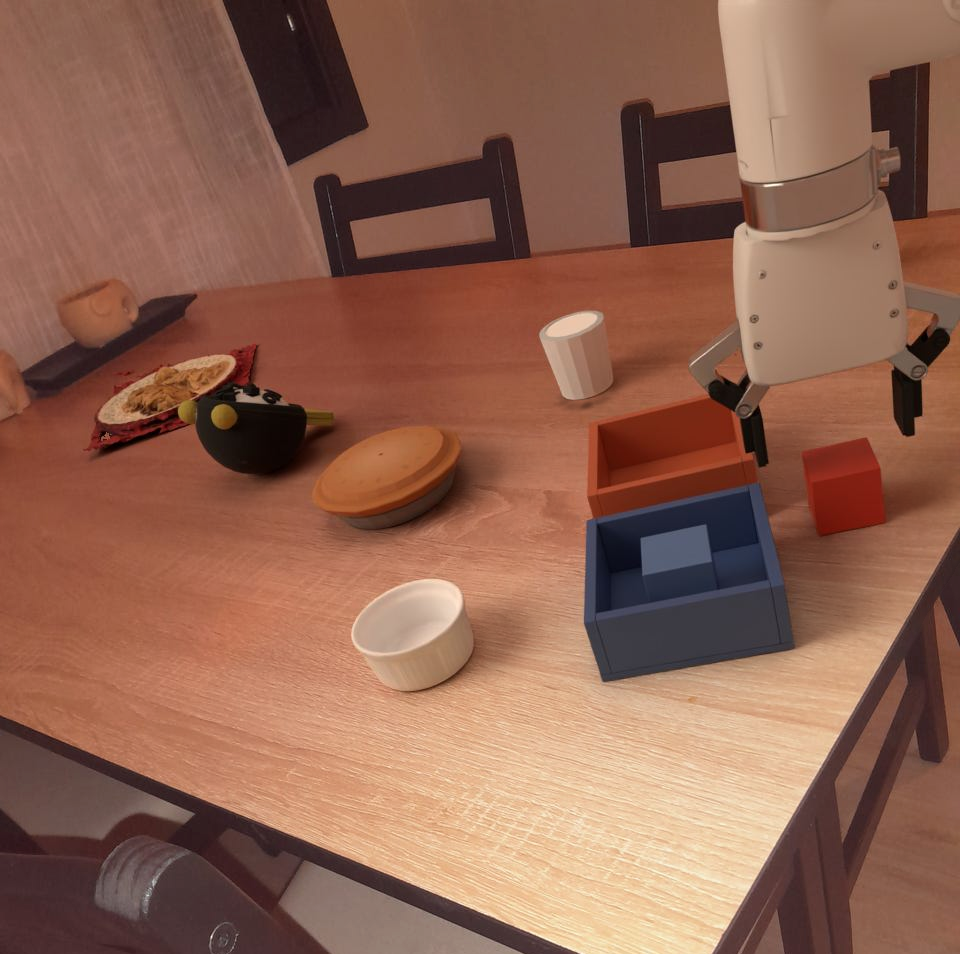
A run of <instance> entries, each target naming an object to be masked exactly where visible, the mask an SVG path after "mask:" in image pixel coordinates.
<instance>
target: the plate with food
mask: <svg viewBox="0 0 960 954" xmlns="http://www.w3.org/2000/svg"><path fill="white" fill-rule="evenodd" d="M256 349H257V342H255V343H252V344H251V345H246V346H245V347H243V346H242V348H239V349H235V348H234V349H232V350H229V353H214V354H207V355H201V356H199V357H193V358H190V359H187V360H183V361H182V362H181V361H179V362H178V363H175V364H170V363H167V365H165V366H164V364H161V363H160V364H159V365H158V366H159V367H155V368H154V369H152V370H150V371H148V372H143V374H142V375H136V376H135V379H137V378H140V379H138V380H136V381H133V380H129V381H125V383H124V382H122V384H121V386H116V384H114V385H113V391H112V392H113V395H112V396H110V397H108V399H107V400H106V401H105V402H104V403H103V404H102V405H101V406H100V407H99V408H98V409H97V410H96V413H94V418H93V421H94V423H95V426H94V428H93V430H92V433H91V435H90V436H91V437H90V440H91V441H90V443H89V445H88V446H87V448H83V449H82V450H83V451H85V452H86V451H88V452H91V451H92V450H93V449H94V450H98V449H99V450H104V449H107V448H108V447H110V446H112V445H113V444H115V443H119V442H121V443H126V442H128V441H131V440H133V439H134V438H136V437H140V436H144V435H147V434H148V433H152V432H154V431H156V430H157V429H158V430H159V429H161V430H159V432H158V433H159V434H162V433H165V432H167V431H172V430H175V429H178V428H180V427H184V426H187V425H189V424H188V423H185V422H183V421H182V420H181V419H180V417H179V415H178V408H179V406H180V405H181V403H182V402H184V401H186V400H192V401H195V402H199V401H200V399H201V397H202V396H213V393H214V392H216V391H218V390H221V389H222V386H223V385H227V384H228V382H233V383H237V384H239V385H243V386H247V384H249V383H250V382H249V378H250V375H251V373H250V370H251V369H252V365H253V363H254V362H253V361H254V360H253V359H254V357H255V351H256ZM134 373H135V371H134V369H130V370H124V371H118V372H115V373H114V376H124V377H125V376H129V375H132V374H134ZM127 379H128V377H126V378H125V380H127ZM131 379H133V376H131ZM106 432H107V433H109V436H110V439H108V440H107V439H103V441H101V437H102V436H104V435H105V434H106ZM110 434H111V435H110ZM104 437H105V436H104Z"/></svg>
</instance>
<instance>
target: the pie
mask: <svg viewBox="0 0 960 954" xmlns="http://www.w3.org/2000/svg"><path fill="white" fill-rule="evenodd" d="M461 454H462V442H461V439H460V438H459V435H458V434H457V433H456V432H453V431H452V430H448V429H447V428H442V427H438V426H433V425H412V426H411V425H410V426H409V425H408V426H403V427H398V428H393V429H389V430H386V431H383V432H381V433H378V434H374V435H372V436H370V437H368V438H366V439H364V440H361V441H360V442H358V443H356V444H354V445H352V446H351V447H350V448H348V449H346V450H345V451H343V452H342V453H341V454H339V455H338V456H337V457H336V458H335V459H333V461H332V462H331V463H330V464H329V465H328V466H327V468H325V470H324V471H322V473H321V475H320V476H319V477H318V478H317V480H316V481H315V483H314V486H313V489H312V492H311V497H312V500H313V503H314V505H315V506H317V507H318V508H320V509H321V510H322V511H323V512H326V513H328V514H330V515H333V516H336V517H337V518H339V519H340V520H341V521H343V522H345V523H347V524H348V525H350V526H352V527H353V528H357V529H361V530H382V529H386V528H390V527H395V526H398V525H401V524H403V523H406V522H410V521H411V520H414V519H416V518H417V517H419V516H421V515H424V514H425V513H426V512H428V511H429V510H431V509H432V508H433V507H435V506H436V505H437V504H438V503H440V501H442V500H443V499H444V497H446V496H447V494H448V492H449V490H450V488H451V487H452V483H453V479H454V476H455V470H456V465H457V463H458V462H459V459H460V457H461Z"/></svg>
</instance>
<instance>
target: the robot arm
mask: <svg viewBox="0 0 960 954" xmlns="http://www.w3.org/2000/svg"><path fill="white" fill-rule="evenodd" d="M717 14H718V25H719V26H718V27H719V33H720V40H721V47H722V54H723V62H724V70H725V75H726V76H725V78H726V84H727V92H728V98H729V99H728V100H729V106H730V114H731V115H730V116H731V121H732V129H733V136H734V144H735V151H736V158H737V166H738V173H739V183H740V193H741V199H742V206H743V207H742V208H743V214H744V221H743V222H742V223H740V224H738V226H736V228H734V232H733V241H732V243H733V244H732V279H733V293H734V305H735V316H736V320H735V321H734V322H733V323H731V325H729V326H727V328H725V329H724V330H723V331H721V332H720V333H719V334H717V335H716V336H715V337H713V338H712V339H711V340H710V341H709V342H708V343H706V344H705V345H704V346H702V347H701V348H700V349H699V350H697V351H696V352H695V353H693V354H692V355H691V356H689V358H688V361H687V365H688V370H689V374H690V375H691V376H692V377H693V378H694V379H695V381H696V382H697V383H698V384H699V386H701V388H702V389H704V391H706V394H709V396H710V398H711V399H713V400H714V401H716V402H718V403H720V404H721V405H723V406H725V407H727V408H728V409H730V410H732V411H733V412H735V413H736V415H737V417H739V418H740V424H741V431H742V437H743V443H744V449H745V453H746V454H747V453H751V452H752V453H754V454H755V458H756V462H757V467H758V469H760V468H765V467H767V465H769V464H770V462H769V453H768V446H767V441H766V433H765V425H764V420H763V419H764V418H763V415H762V410H761V408H760V403H761V401H762V400H763V399H764V397H765V395H766V394H767V393H768V391H769V390H770V388H771V387H778V386H783V385H788V384H792V383H796V382H801V381H806V380H811V379H815V378H821V377H824V376H828V375H833V374H837V373H841V372H846V371H850V370H854V369H858V368H863V367H866V366H871V365H875V364H878V363H882V362H885V361H887V362H888V363H890V364H891V365H892V366H893V369H892V370H891V372H890V373H891V390H892V408H893V410H892V411H893V419H894V422H895V423H896V425H897V428H898V429H899V432H900V433H901V435H902V436H903V437H904V436H905V438H909V437H914V436H915V435H916V425H915V421H916V418H921V417H923V415H924V412H923V410H924V409H923V383H922V382H923V380H922V379H925V377H927V374H928V372H929V367H930V366H931V365H932V364H933V363H934V362H935V361H936V359H937V358H938V357H939V356H940V355H941V354H942V353H943V351H944V350H945V349H946V348H947V347H948V346H949V344H950V343H951V336H952V334H953V332H954V331H955V330H956V328H957V326H958V324H959V321H960V294H959V293H957V292H954V291H950V290H946V289H942V288H936V287H932V286H927V285H923V284H919V283H914V282H910V281H906V280H904V276H903V268H902V262H901V261H902V260H901V254H900V248H899V243H898V237H897V233H896V229H895V225H894V224H895V223H894V220H893V215H892V212H891V208H890V205H889V202H888V198H887V196H886V193H885V192H884V191H883V190H882V189H881V190H880V189H879V186H878V185H880V184H881V183H882V182H881V181H882V179H883V178H887V177H888V175H890V174H893V173H896V172H897V173H898V172H899V171H901V166H902V165H901V164H902V163H901V162H902V161H901V153H900V150H899V147H898V146H895V147H891V148H887V149H885V148H884V147H882V148H878V147H877V146H876V145H873V131H872V116H871V115H872V114H871V94H870V80H871V79H872V78H873V77H874V76H876V75H878V74H881V73H885V72H890V71H894V70H899V69H903V68H907V67H911V66H912V67H913V66H917V65H921V64H926V63H930V62H931V63H932V62H934V61H935V62H936V61H940V60H945V59H948V58H949V57H954V56H956V55H958V54H960V0H718V1H717ZM907 308H908V309H912V310H915V311H920V312H924V313H925V312H926V313H929V314H933V315H932V317H931V318H930V319H931V320H930V324H929V325H927V327H925V329H924V330H923V331H922V332H921V333H920V334H919V336H918V337H917V338H916V339H915V340H914V341H913V343H912V344H910V343H909V342H908V338H909V319H908V309H907ZM739 349H740V354H741V358H742V361H743V362H744V365H745V367H746V369H745V370H744V372H743V373H742V375H741V377H740V378H739V380H738V381H737V383H735V382H733V381H731V379H728V378H726V377H725V376H723V375H721V374H720V373H719V372H718V370H717V369H716V367H717V366H718V365H719V364H721V363H722V362H723V361H725V360H726V359H728V357H730V356H731V355H732V354H734V353H735V352H736V351H737V350H739Z"/></svg>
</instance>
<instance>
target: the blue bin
mask: <svg viewBox="0 0 960 954" xmlns="http://www.w3.org/2000/svg"><path fill="white" fill-rule="evenodd" d="M705 524H706V525H707V529H708V534H709V538H710V543H711V548H712V553H713V557H714V562H715V567H716V572H717V576H718V582H719V589H720V590H715V591H709V592H704V593H699V594H694V595H689V596H684V597H678V598H673V599H668V600H663V601H658V602H653V603H650V602H649V598H648V594H647V590H646V587H645V583H644V579H643V575H642V556H641V538H643V537H648V536H653V535H658V534H662V533H667V532H672V531H677V530H681V529H686V528H691V527H695V526H700V525H705ZM585 526H586V530H585V563H584V565H585V566H584V598H583V599H584V601H583V602H584V603H583V625H584V628H585V631H586V635H587V638H588V640H589V645H590V647H591V650H592V653H593V656H594V660H595V662H596V666H597V669H598V672H599V675H600V678H601V679H600V680H601V681H602V683H605V682H610V681H616V680H622V679H627V678H634V677H638V676H645V675H650V674H656V673H661V672H667V671H674V670H679V669H685V668H690V667H696V666H701V665H707V664H714V663H719V662H726V661H731V660H737V659H743V658H747V657H754V656H759V655H765V654H771V653H777V652H781V651H787V650H794V649H796V645H795V639H794V633H793V627H792V621H791V616H790V610H789V609H790V608H789V603H788V596H787V590H786V584H785V581H784V576H783V572H782V568H781V564H780V560H779V556H778V552H777V551H778V550H777V548H776V543H775V540H774V539H775V538H774V536H773V535H774V534H773V532H772V527H771V523H770V519H769V515H768V511H767V507H766V503H765V498H764V495H763V491H762V487H761V483H760V482H758V483H754V484H749V485H745V486H740V487H736V488H731V489H727V490H722V491H718V492H713V493H708V494H704V495H699V496H695V497H690V498H686V499H681V500H677V501H672V502H667V503H663V504H658V505H654V506H649V507H645V508H640V509H636V510H631V511H626V512H622V513H617V514H613V515H608V516H604V517H599V518H594V519H593V518H590V519H586V525H585Z"/></svg>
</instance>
